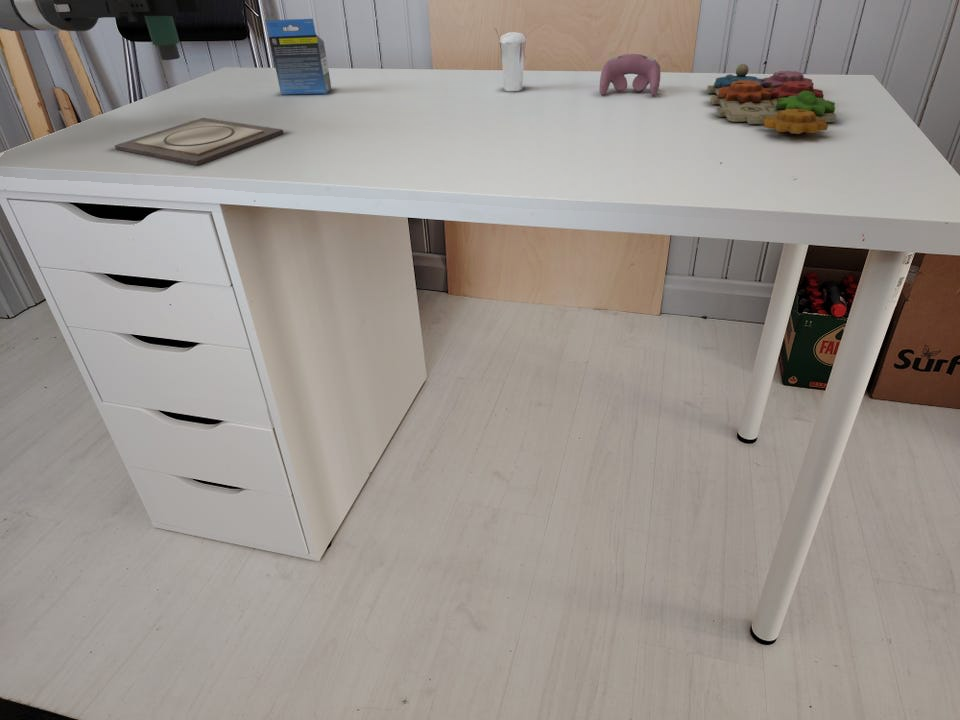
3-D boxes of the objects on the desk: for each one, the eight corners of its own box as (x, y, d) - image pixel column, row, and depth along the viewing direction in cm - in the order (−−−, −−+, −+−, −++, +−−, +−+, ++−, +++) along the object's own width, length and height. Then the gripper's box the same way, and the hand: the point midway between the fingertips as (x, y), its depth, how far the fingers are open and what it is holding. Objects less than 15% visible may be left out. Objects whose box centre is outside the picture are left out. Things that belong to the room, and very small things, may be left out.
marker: (151, 60, 94) (119, -46, 86) (172, 55, 96) (143, -48, 89) (168, 61, 92) (137, -46, 85) (189, 56, 95) (160, -48, 87)
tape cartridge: (332, 89, 121) (320, 15, 114) (326, 94, 118) (313, 18, 111) (287, 90, 122) (272, 16, 115) (279, 95, 119) (264, 20, 112)
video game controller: (657, 101, 110) (663, 58, 109) (658, 94, 105) (663, 49, 104) (599, 100, 112) (604, 57, 111) (597, 93, 108) (602, 49, 107)
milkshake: (492, 88, 116) (491, 26, 110) (520, 85, 117) (520, 23, 112) (500, 94, 112) (499, 30, 107) (529, 90, 114) (529, 27, 108)
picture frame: (115, 149, 94) (113, 143, 94) (203, 121, 106) (202, 115, 105) (197, 165, 87) (195, 159, 86) (283, 133, 98) (282, 127, 97)
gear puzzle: (857, 143, 83) (866, 110, 80) (725, 141, 86) (730, 109, 83) (805, 87, 108) (811, 60, 105) (704, 87, 110) (708, 61, 108)
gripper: (111, 22, 104) (231, 23, 97) (20, 40, 91) (150, 43, 84) (94, -32, 100) (217, -35, 93) (-5, -22, 87) (130, -24, 80)
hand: (185, 2), depth 88 cm, fingers closed on marker, 4 cm apart
